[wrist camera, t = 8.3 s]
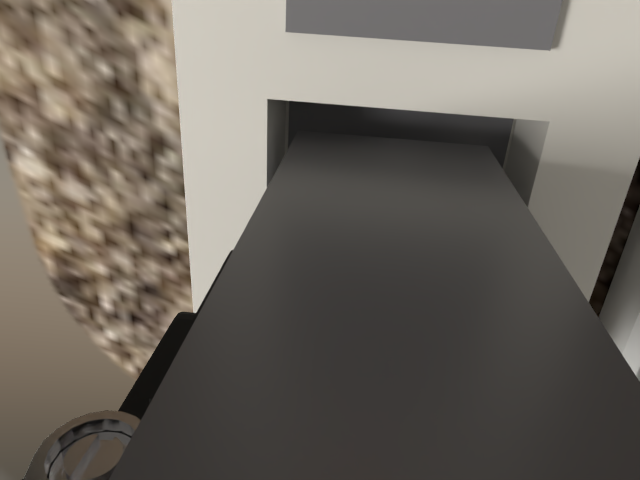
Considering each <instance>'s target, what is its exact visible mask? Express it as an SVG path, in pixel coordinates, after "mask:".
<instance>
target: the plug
mask: <svg viewBox="0 0 640 480" xmlns="http://www.w3.org/2000/svg"><path fill="white" fill-rule="evenodd" d="M109 480H640V381H639V380H638V378H637V377H636V375H635V374H634V372H633V371H632V369H631V367H630V366H629V364H628V363H627V361H626V360H625V358H624V357H623V355H622V353H621V352H620V350H619V349H618V347H617V346H616V344H615V343H614V341H613V339H612V338H611V336H610V335H609V333H608V332H607V330H606V329H605V327H604V325H603V324H602V322H601V321H600V319H599V318H598V316H597V315H596V313H595V311H594V310H593V308H592V307H591V305H590V304H589V302H588V301H587V299H586V298H585V296H584V294H583V293H582V291H581V290H580V288H579V287H578V285H577V284H576V282H575V280H574V279H573V277H572V276H571V274H570V273H569V271H568V270H567V268H566V266H565V265H564V263H563V262H562V260H561V259H560V257H559V256H558V254H557V252H556V251H555V249H554V248H553V246H552V245H551V243H550V242H549V240H548V238H547V237H546V235H545V234H544V232H543V231H542V229H541V228H540V226H539V224H538V223H537V221H536V220H535V218H534V217H533V215H532V214H531V212H530V210H529V209H528V207H527V206H526V204H525V203H524V201H523V200H522V198H521V197H520V195H519V193H518V192H517V190H516V189H515V187H514V186H513V184H512V183H511V181H510V179H509V178H508V176H507V175H506V173H505V172H504V170H503V169H502V167H501V165H500V164H499V162H498V161H497V159H496V158H495V156H494V155H493V153H492V151H491V150H490V148H489V147H488V146H481V145H469V144H457V143H444V142H432V141H420V140H408V139H396V138H384V137H372V136H359V135H347V134H335V133H323V132H311V131H299V130H298V132H297V133H296V135H295V137H294V139H293V141H292V143H291V144H290V146H289V148H288V150H287V152H286V154H285V156H284V157H283V159H282V161H281V163H280V165H279V167H278V168H277V170H276V172H275V174H274V176H273V178H272V180H271V181H270V183H269V185H268V187H267V189H266V191H265V192H264V194H263V196H262V198H261V200H260V202H259V204H258V205H257V207H256V209H255V211H254V213H253V215H252V216H251V218H250V220H249V222H248V224H247V226H246V227H245V229H244V231H243V233H242V235H241V237H240V239H239V240H238V242H237V244H236V246H235V248H234V250H233V251H232V253H231V255H230V257H229V259H228V261H227V263H226V264H225V266H224V268H223V270H222V272H221V274H220V275H219V277H218V279H217V281H216V283H215V285H214V286H213V288H212V290H211V292H210V294H209V296H208V298H207V299H206V301H205V303H204V305H203V307H202V309H201V310H200V312H199V314H198V316H197V318H196V320H195V322H194V323H193V325H192V327H191V329H190V331H189V333H188V334H187V336H186V338H185V340H184V342H183V344H182V345H181V347H180V349H179V351H178V353H177V355H176V357H175V358H174V360H173V362H172V364H171V366H170V368H169V369H168V371H167V373H166V375H165V377H164V379H163V381H162V382H161V384H160V386H159V388H158V390H157V392H156V393H155V395H154V397H153V399H152V401H151V403H150V405H149V406H148V408H147V410H146V412H145V414H144V416H143V417H142V419H141V421H140V423H139V425H138V427H137V428H136V430H135V432H134V434H133V436H132V438H131V440H130V441H129V443H128V445H127V447H126V449H125V451H124V452H123V454H122V456H121V458H120V460H119V462H118V464H117V465H116V467H115V469H114V471H113V473H112V475H111V476H110V478H109Z"/></svg>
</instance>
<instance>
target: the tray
mask: <svg viewBox="0 0 640 480" xmlns="http://www.w3.org/2000/svg"><path fill="white" fill-rule="evenodd" d="M599 319H600V321H601V322H602V324H603V325H604V327H605V329H606V330H607V332H608V333H609V335H610V336H611V338H612V339H613V341H614V343H615V344H616V346H617V347H618V349H619V350H620V352H621V353H622V355H623V357H624V358H625V360H626V361H627V363H628V364H629V366H630V367H631V369H632V371H633V372H634V374H635V375H636V377H637V378H638V380H639V381H640V206H639V209H638V211H637V214H636V217H635V220H634V222H633V225H632V228H631V230H630V233H629V236H628V239H627V241H626V244H625V247H624V250H623V252H622V255H621V258H620V260H619V263H618V266H617V269H616V271H615V274H614V277H613V279H612V282H611V285H610V288H609V290H608V293H607V296H606V299H605V301H604V304H603V307H602V309H601V312H600V315H599Z"/></svg>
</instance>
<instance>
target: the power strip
mask: <svg viewBox="0 0 640 480" xmlns="http://www.w3.org/2000/svg"><path fill="white" fill-rule="evenodd" d="M172 13H173V27H174V41H175V56H176V70H177V84H178V99H179V113H180V127H181V142H182V156H183V170H184V185H185V199H186V214H187V228H188V242H189V257H190V271H191V285H192V300H193V313H196V312H197V311H198V309H199V307H200V305H201V303H202V301H203V300H204V298H205V296H206V294H207V292H208V291H209V289H210V287H211V285H212V283H213V282H214V280H215V278H216V276H217V274H218V272H219V271H220V269H221V267H222V265H223V263H224V262H225V260H226V258H227V256H228V254H229V253H230V251H231V250H234V248H235V246H236V244H237V242H238V240H239V239H240V237H241V235H242V233H243V231H244V229H245V227H246V226H247V224H248V222H249V220H250V218H251V216H252V215H253V213H254V211H255V209H256V207H257V205H258V204H259V202H260V200H261V198H262V196H263V194H264V192H265V191H266V189H267V187H268V185H269V183H270V181H271V180H272V178H273V176H274V174H275V172H276V170H277V168H278V167H279V165H280V163H281V161H282V159H283V157H284V156H285V154H286V152H287V150H288V148H289V146H290V144H291V143H292V141H293V139H294V137H295V135H296V133H297V132H298V130H299V131H311V132H323V133H335V134H347V135H359V136H372V137H384V138H396V139H408V140H420V141H432V142H444V143H457V144H469V145H481V146H488V147H489V148H490V150H491V151H492V153H493V155H494V156H495V158H496V159H497V161H498V162H499V164H500V165H501V167H502V169H503V170H504V172H505V173H506V175H507V176H508V178H509V179H510V181H511V183H512V184H513V186H514V187H515V189H516V190H517V192H518V193H519V195H520V197H521V198H522V200H523V201H524V203H525V204H526V206H527V207H528V209H529V210H530V212H531V214H532V215H533V217H534V218H535V220H536V221H537V223H538V224H539V226H540V228H541V229H542V231H543V232H544V234H545V235H546V237H547V238H548V240H549V242H550V243H551V245H552V246H553V248H554V249H555V251H556V252H557V254H558V256H559V257H560V259H561V260H562V262H563V263H564V265H565V266H566V268H567V270H568V271H569V273H570V274H571V276H572V277H573V279H574V280H575V282H576V284H577V285H578V287H579V288H580V290H581V291H582V293H583V294H584V296H585V298H586V299H587V301H588V302H589V300H590V297H591V295H592V292H593V289H594V286H595V283H596V280H597V277H598V275H599V272H600V269H601V266H602V263H603V260H604V258H605V255H606V252H607V249H608V246H609V243H610V240H611V238H612V235H613V232H614V229H615V226H616V223H617V220H618V218H619V215H620V212H621V209H622V206H623V203H624V201H625V198H626V195H627V192H628V189H629V186H630V183H631V181H632V178H633V175H634V172H635V169H636V166H637V163H638V161H639V158H640V0H172Z"/></svg>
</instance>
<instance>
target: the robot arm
mask: <svg viewBox="0 0 640 480" xmlns="http://www.w3.org/2000/svg"><path fill="white" fill-rule="evenodd" d="M232 251H233V250H231V251H230V253H229V254H228V256H227V258H226V260H225V262H224V263H223V265H222V267H221V269H220V271H219V272H218V274H217V276H216V278H215V280H214V282H213V283H212V285H211V287H210V289H209V291H208V292H207V294H206V296H205V298H204V300H203V301H202V303H201V305H200V307H199V309H198V311H197V312H196V313H190V312H180V313H178V314H177V316H176V317H175V318H174V320H173V321H172V323H171V325H170V326H169V328H168V330H167V331H166V333H165V335H164V336H163V338H162V340H161V341H160V343H159V344H158V346H157V348H156V349H155V351H154V353H153V354H152V356H151V358H150V359H149V361H148V363H147V364H146V366H145V368H144V369H143V371H142V372H141V374H140V376H139V377H138V379H137V381H136V382H135V384H134V386H133V388H132V389H131V391H130V392H129V394H128V396H127V397H126V399H125V401H124V402H123V404H122V406H121V407H120V409H119V410H118V411H108V410H106V411H99V412H93V413H88V414H86V415H83V416H80V417H77V418H75V419H72V420H70V421H69V422H67V423H65V424H64V425H62V426H60V427H59V428H57V429H56V430H55V431H54V432H52V433H51V434H50V435H49V436H48V437H47V438H46V439H45V440H44V441H43V442H42V444H41V445H40V447H39V448H38V450H37V451H36V453H35V454H34V456H33V459H32V461H31V463H30V465H29V468H28V470H27V472H26V475H25V476H24V479H22V480H109V478H110V476H111V475H112V473H113V471H114V469H115V467H116V465H117V464H118V462H119V460H120V458H121V456H122V454H123V452H124V451H125V449H126V447H127V445H128V443H129V441H130V440H131V438H132V436H133V434H134V432H135V430H136V428H137V427H138V425H139V423H140V421H141V419H142V417H143V416H144V414H145V412H146V410H147V408H148V406H149V405H150V403H151V401H152V399H153V397H154V395H155V393H156V392H157V390H158V388H159V386H160V384H161V382H162V381H163V379H164V377H165V375H166V373H167V371H168V369H169V368H170V366H171V364H172V362H173V360H174V358H175V357H176V355H177V353H178V351H179V349H180V347H181V345H182V344H183V342H184V340H185V338H186V336H187V334H188V333H189V331H190V329H191V327H192V325H193V323H194V322H195V320H196V318H197V316H198V314H199V312H200V310H201V309H202V307H203V305H204V303H205V301H206V299H207V298H208V296H209V294H210V292H211V290H212V288H213V286H214V285H215V283H216V281H217V279H218V277H219V275H220V274H221V272H222V270H223V268H224V266H225V264H226V263H227V261H228V259H229V257H230V255H231V253H232Z"/></svg>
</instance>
